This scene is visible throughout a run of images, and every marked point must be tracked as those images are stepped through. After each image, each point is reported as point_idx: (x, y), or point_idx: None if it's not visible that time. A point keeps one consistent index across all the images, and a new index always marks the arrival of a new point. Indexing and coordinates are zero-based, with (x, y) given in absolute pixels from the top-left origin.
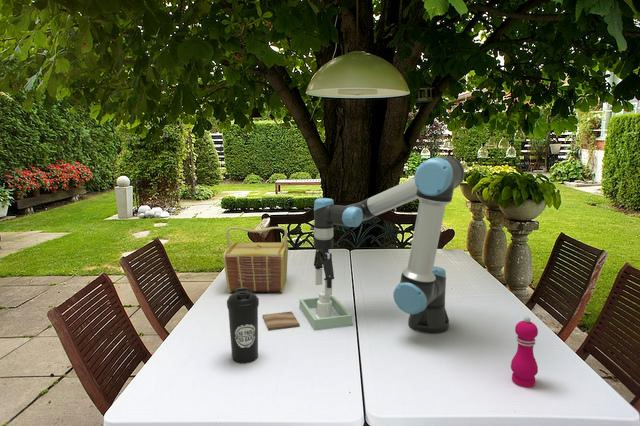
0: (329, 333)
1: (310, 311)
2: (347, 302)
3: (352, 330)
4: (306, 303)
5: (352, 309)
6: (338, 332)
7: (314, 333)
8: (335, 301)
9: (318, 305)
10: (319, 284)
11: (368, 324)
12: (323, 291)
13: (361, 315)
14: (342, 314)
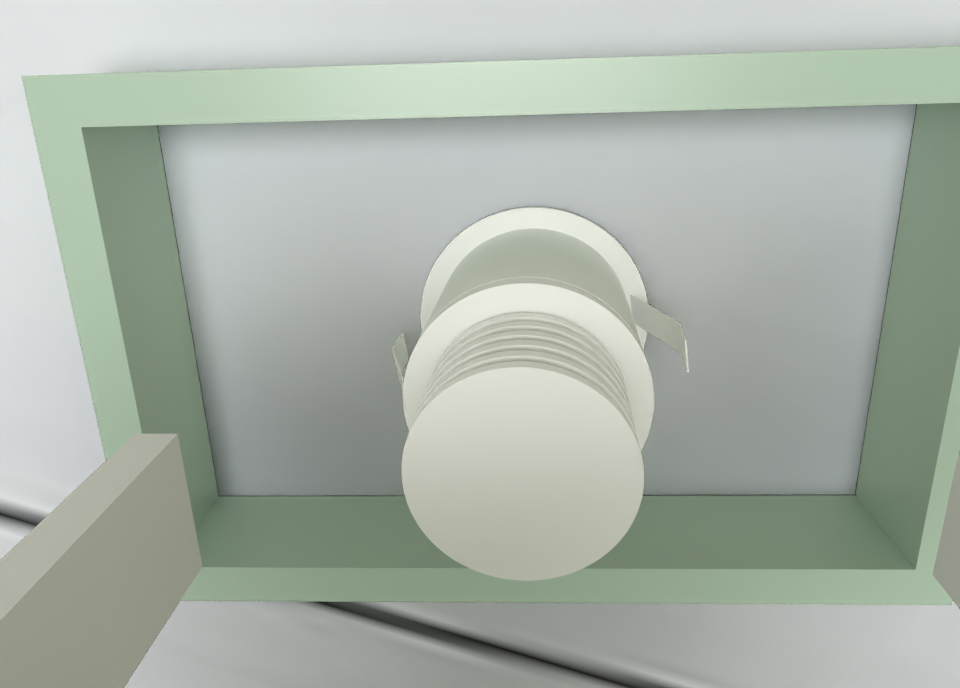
0: (2, 235)
1: (398, 103)
2: (873, 680)
3: (63, 489)
4: (953, 162)
5: (638, 661)
6: (23, 340)
7: (14, 52)
8: (714, 564)
9: (493, 276)
10: (948, 517)
11: (194, 666)
12: (628, 486)
13: (440, 684)
14: (411, 520)
